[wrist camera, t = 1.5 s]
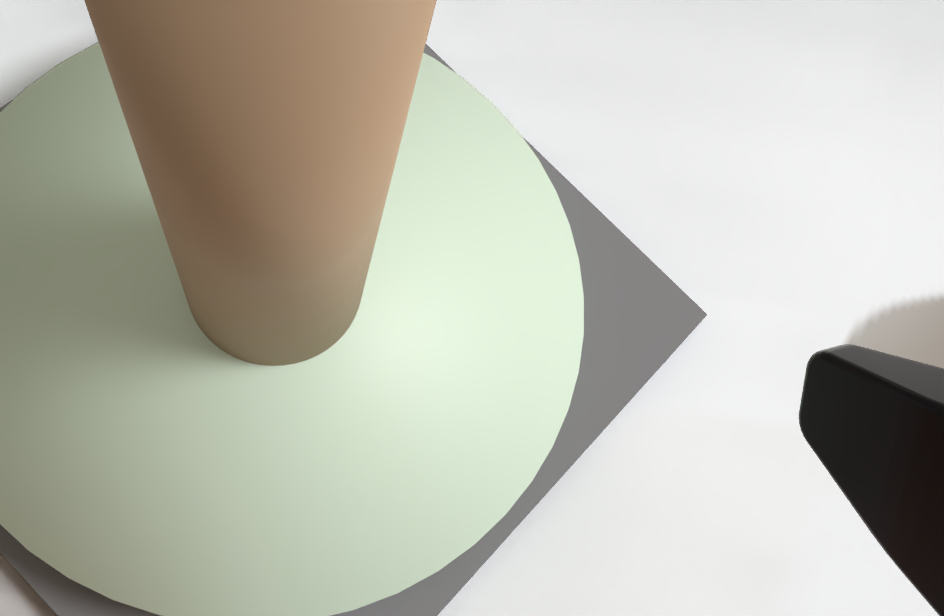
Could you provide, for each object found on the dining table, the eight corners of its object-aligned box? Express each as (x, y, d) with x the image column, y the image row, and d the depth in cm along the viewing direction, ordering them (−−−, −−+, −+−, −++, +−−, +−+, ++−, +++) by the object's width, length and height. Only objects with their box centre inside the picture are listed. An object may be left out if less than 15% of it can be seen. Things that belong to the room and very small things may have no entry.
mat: (700, 318, 24) (707, 314, 23) (250, 819, 18) (249, 824, 17) (295, -72, 25) (295, -82, 24) (-246, 279, 19) (-257, 273, 19)
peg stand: (682, 313, 23) (1196, -50, 10) (251, 785, 18) (152, 1321, 5) (294, -61, 24) (303, -819, 11) (-220, 274, 19) (-1343, -433, 6)
